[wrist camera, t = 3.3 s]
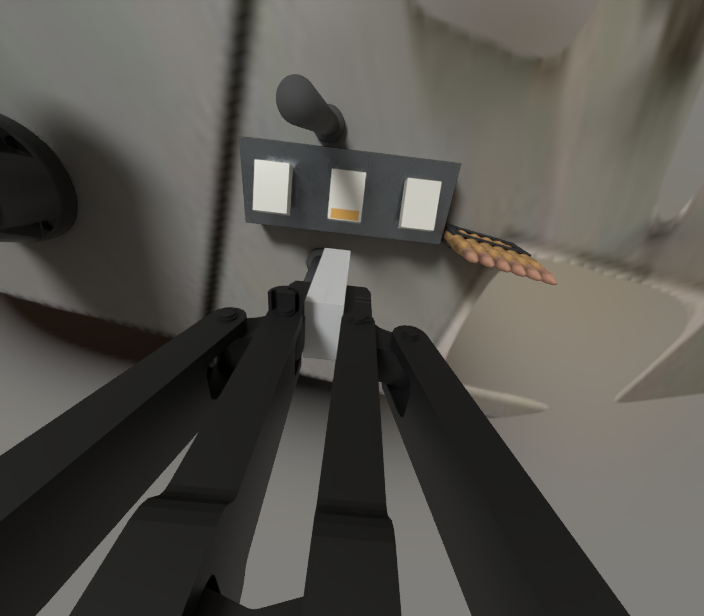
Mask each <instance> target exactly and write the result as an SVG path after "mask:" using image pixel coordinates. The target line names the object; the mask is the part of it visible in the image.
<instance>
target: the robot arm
mask: <svg viewBox="0 0 704 616" xmlns="http://www.w3.org/2000/svg"><path fill="white" fill-rule="evenodd" d="M76 213H77V202H76V196H75V192H74V189H73V186H72V183H71V181H70V179H69V177H68V175H67V173H66V171H65V169H64V168H63V166H62V165H61V163H60V162H59V160H58V159H57V157H56V156H55V155H54V154H53V153H52V151H51V150H50V149H49V148H48V147H47V146H46V145H45V144H44V143H43V142H42V141H41V140H40V139H39V138H38V137H37V136H36V135H34V134H33V133H32V132H31V131H29V130H28V129H27V128H25V127H24V126H22V125H21V124H19V123H18V122H16V121H14V120H12V119H10V118H8V117H6V116H4V115H2V114H0V242H38V241H43V240H47V239H50V238H54V237H57V236H60V235H62V234H64V233H65V232H67V231H68V230H69V229H70V228H71V226H72V225H73V223H74V221H75V217H76ZM350 252H351V251H348V250H339V249H331V248H325V249H324V252H323V254H322V257H321V260H320V262H319V265H318V267H317V270H316V273H315V275H314V278H313V281H312V282H305V281H295V282H293V283H291V284H290V285H289V286H277V287H274V288H271V289H270V290H269V291H268V305H269V311H268V312H267V314H266V316H263V317H257V318H247V316H246V313H245V311H244V310H241V309H239V308H233V307H229V308H228V307H226V308H222V309H218V310H216V311H214V312H212V313H210V314H209V315H207V316H206V317H204V318H203V319H202V320H200V321H199V322H197V323H196V324H194V325H193V326H191V327H190V328H188V329H187V330H185V331H184V332H182V333H181V334H179V335H178V336H176V337H175V338H173V339H172V340H171V341H169V342H168V343H166V344H165V345H163V346H162V347H160V348H159V349H157V350H156V351H154V352H153V353H152V354H150V355H148V356H147V357H145V358H144V359H143V360H141V361H140V362H138V363H137V364H135V365H134V366H132V367H131V368H129V369H128V370H126V371H125V372H123V373H122V374H120V375H119V376H117V377H116V378H114V379H113V380H111V381H110V382H109V383H107V384H106V385H104V386H103V387H101V388H100V389H98V390H97V391H95V392H94V393H92V394H91V395H89V396H88V397H86V398H85V399H83V400H82V401H80V402H79V403H78V404H76V405H75V406H73V407H72V408H70V409H69V410H67V411H66V412H64V413H63V414H61V415H60V416H58V417H57V418H55V419H54V420H53V421H51V422H50V423H48V424H46V425H45V426H44V427H42V428H41V429H39V430H38V431H36V432H35V433H33V434H32V435H30V436H29V437H27V438H26V439H24V440H23V441H21V442H20V443H18V444H17V445H16V446H14V447H13V448H11V449H10V450H8V451H7V452H5V453H4V454H2V455H1V456H0V616H36V614H37V613H38V612H39V611H40V610H41V609H42V608H43V607H44V606H45V605H46V604H47V603H48V602H49V600H50V599H51V598H52V597H53V596H54V595H55V594H56V593H57V591H58V590H59V589H60V588H61V587H62V586H63V585H64V583H65V582H66V581H67V580H68V579H69V578H70V577H71V576H72V574H73V573H74V572H75V571H76V570H77V569H78V568H79V566H80V565H81V564H82V563H83V562H84V561H85V560H86V559H87V557H88V556H89V555H90V554H91V553H92V552H93V551H94V549H95V548H96V547H97V546H98V545H99V544H100V542H101V541H102V540H103V539H104V538H105V537H106V536H107V535H108V534H109V532H110V531H111V530H112V529H113V528H114V527H115V526H116V525H117V523H118V522H119V521H120V520H121V519H122V518H123V516H124V515H125V514H126V513H127V512H128V511H129V510H130V509H131V508H132V506H133V505H134V504H135V503H136V502H137V501H138V500H139V498H140V497H141V496H142V495H143V494H144V493H145V492H146V491H147V489H148V488H149V487H150V486H151V485H152V484H153V483H154V482H155V480H156V479H157V478H158V477H159V476H160V475H161V473H162V472H163V471H164V470H165V469H166V468H167V467H168V466H169V464H170V463H171V462H172V461H173V460H174V459H175V458H176V457H177V455H178V454H179V453H180V452H181V451H182V450H183V449H184V448H185V446H186V445H187V444H188V443H189V442H190V441H191V440H192V439H193V437H194V436H195V435H196V434H197V433H198V434H197V436H196V438H195V439H194V441H193V443H192V445H191V446H190V448H189V450H188V452H187V453H186V455H185V457H184V458H183V460H182V462H181V464H180V466H179V467H178V469H177V471H176V473H175V474H174V476H173V478H172V479H171V481H170V483H169V484H168V486H167V487H166V489H165V490H164V491H163V492H162V493H161V494H160V495H158V496H154V497H151V498H148V499H147V500H146V501H145V502H143V503H142V504H141V505H140V506H139V507H138V509H137V510H136V511H135V513H134V514H133V515H132V517H131V518H130V519H129V521H128V522H127V524H126V526H125V527H124V529H123V530H122V532H121V534H120V535H119V537H118V539H117V540H116V542H115V543H114V545H113V547H112V548H111V550H110V551H109V553H108V554H107V556H106V558H105V559H104V561H103V563H102V564H101V566H100V567H99V569H98V570H97V572H96V574H95V575H94V577H93V578H92V580H91V582H90V583H89V585H88V586H87V588H86V590H85V591H84V593H83V594H82V596H81V598H80V599H79V601H78V602H77V604H76V606H75V607H74V609H73V610H72V612H71V614H70V615H69V616H401V605H400V592H399V580H398V568H397V555H396V544H395V535H394V528H393V524H392V520H391V519H390V518H389V517H388V514H387V507H386V494H385V479H384V463H383V446H382V432H381V431H382V430H381V414H380V399H379V382H382V389H383V391H384V394H385V396H386V399H387V401H388V404H389V406H390V409H391V411H392V414H393V417H394V419H395V422H396V424H397V427H398V429H399V432H400V434H401V437H402V439H403V442H404V444H405V447H406V450H407V452H408V454H409V457H410V460H411V462H412V465H413V467H414V470H415V473H416V475H417V478H418V480H419V483H420V485H421V488H422V490H423V493H424V495H425V498H426V501H427V503H428V506H429V508H430V510H431V513H432V516H433V518H434V521H435V523H436V526H437V529H438V531H439V534H440V536H441V539H442V541H443V544H444V546H445V549H446V551H447V554H448V557H449V559H450V562H451V564H452V567H453V569H454V572H455V574H456V577H457V579H458V582H459V585H460V587H461V590H462V592H463V595H464V597H465V600H466V602H467V605H468V608H469V610H470V612H471V615H472V616H630V615H629V614H628V612H627V611H626V610H625V608H624V607H623V605H622V604H621V602H620V601H619V600H618V599H617V597H616V596H615V594H614V593H613V592H612V590H611V589H610V587H609V586H608V585H607V583H606V582H605V580H604V579H603V578H602V576H601V575H600V574H599V572H598V571H597V569H596V568H595V567H594V565H593V564H592V562H591V561H590V560H589V558H588V557H587V556H586V554H585V553H584V552H583V550H582V549H581V547H580V546H579V545H578V543H577V542H576V541H575V539H574V538H573V536H572V535H571V533H570V532H569V531H568V529H567V528H566V527H565V525H564V524H563V522H562V521H561V520H560V518H559V517H558V516H557V514H556V513H555V511H554V510H553V509H552V507H551V506H550V504H549V503H548V502H547V500H546V499H545V498H544V496H543V495H542V494H541V492H540V491H539V489H538V488H537V487H536V485H535V484H534V483H533V481H532V480H531V478H530V477H529V476H528V474H527V473H526V471H525V470H524V469H523V467H522V466H521V464H520V463H519V462H518V460H517V459H516V458H515V456H514V455H513V454H512V452H511V451H510V449H509V448H508V447H507V445H506V444H505V442H504V441H503V440H502V438H501V437H500V435H499V434H498V433H497V431H496V430H495V429H494V427H493V426H492V424H491V423H490V422H489V420H488V419H487V418H486V416H485V415H484V413H483V412H482V411H481V409H480V408H479V406H478V405H477V404H476V402H475V401H474V400H473V398H472V397H471V395H470V394H469V393H468V391H467V390H466V389H465V387H464V386H463V384H462V383H461V382H460V380H459V379H458V378H457V376H456V375H455V374H454V372H453V371H452V369H451V368H450V367H449V365H448V364H447V362H446V361H445V360H444V358H443V357H442V355H441V354H440V353H439V351H438V350H437V349H436V347H435V346H434V344H433V343H432V342H431V340H430V339H429V337H428V336H427V335H426V334H425V333H424V332H423V331H422V330H420V329H418V328H416V327H413V326H406V325H403V326H398V327H396V328H394V330H393V332H389V331H386V330H384V329H381V328H379V327H378V326H377V325H375V321H374V319H373V317H372V309H371V293H370V291H369V290H368V289H367V288H365V287H356V286H347V280H348V270H349V261H350ZM302 352H303V357H306V358H316V359H325V360H335V361H336V363H335V370H334V378H333V385H332V393H331V400H330V401H331V402H330V408H329V416H328V423H327V431H326V438H325V446H324V454H323V461H322V469H321V476H320V484H319V491H318V499H317V506H316V511H315V517H314V523H313V531H312V538H311V545H310V553H309V560H308V568H307V575H306V582H305V590H304V597H300V598H296V599H293V600H289V601H285V602H282V603H278V604H274V605H271V606H267V607H263V608H260V609H249V608H246V607H244V606H243V605H240V604H239V603H240V598H241V594H242V589H243V584H244V576H245V568H246V562H247V558H248V554H249V550H250V547H251V543H252V539H253V536H254V532H255V529H256V525H257V522H258V518H259V514H260V511H261V507H262V504H263V500H264V497H265V493H266V489H267V486H268V482H269V479H270V475H271V471H272V468H273V464H274V461H275V457H276V454H277V450H278V446H279V443H280V439H281V436H282V432H283V429H284V425H285V421H286V418H287V414H288V411H289V407H290V403H291V400H292V396H293V392H294V389H295V386H296V382H297V378H298V375H299V371H300V368H301V356H302ZM213 359H215V361H214V362H213V363H212V364H211V365H209V364H210V363H211V362H212V360H213ZM378 381H379V382H378Z"/></svg>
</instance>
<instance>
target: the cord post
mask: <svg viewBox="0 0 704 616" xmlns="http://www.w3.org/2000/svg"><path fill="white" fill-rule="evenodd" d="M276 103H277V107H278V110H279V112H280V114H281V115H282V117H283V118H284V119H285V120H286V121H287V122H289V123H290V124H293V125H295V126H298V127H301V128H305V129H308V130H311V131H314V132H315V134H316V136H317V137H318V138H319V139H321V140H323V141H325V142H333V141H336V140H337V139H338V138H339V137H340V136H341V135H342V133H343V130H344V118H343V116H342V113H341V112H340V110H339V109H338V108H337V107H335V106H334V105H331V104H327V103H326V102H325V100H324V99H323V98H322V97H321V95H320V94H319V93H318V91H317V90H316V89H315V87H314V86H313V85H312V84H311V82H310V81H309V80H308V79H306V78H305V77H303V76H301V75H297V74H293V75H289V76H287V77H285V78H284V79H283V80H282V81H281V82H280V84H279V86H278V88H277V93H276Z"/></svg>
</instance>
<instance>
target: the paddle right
mask: <svg viewBox="0 0 704 616" xmlns="http://www.w3.org/2000/svg"><path fill="white" fill-rule="evenodd" d="M441 183H442V182H440V181H432V180H423V179H415V178H407V179H406V181H405V183H404V190H403V197H402V204H401V212H400V219H399V226H398V228H402V229H411V230H419V231H428V232H430V231H434V226H435V220H436V214H437V208H438V201H439V195H440V189H441Z"/></svg>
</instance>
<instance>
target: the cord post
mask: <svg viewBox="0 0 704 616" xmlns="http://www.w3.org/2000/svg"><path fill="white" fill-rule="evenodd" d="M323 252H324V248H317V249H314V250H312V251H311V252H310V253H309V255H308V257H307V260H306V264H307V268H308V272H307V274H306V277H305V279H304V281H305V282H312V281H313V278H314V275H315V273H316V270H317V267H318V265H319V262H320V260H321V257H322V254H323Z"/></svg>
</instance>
